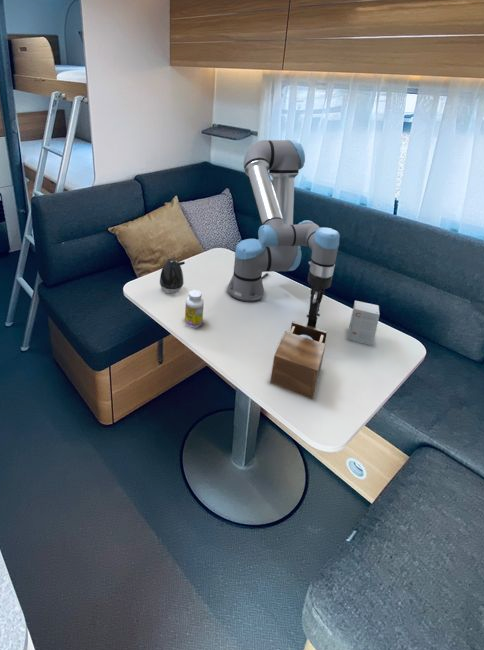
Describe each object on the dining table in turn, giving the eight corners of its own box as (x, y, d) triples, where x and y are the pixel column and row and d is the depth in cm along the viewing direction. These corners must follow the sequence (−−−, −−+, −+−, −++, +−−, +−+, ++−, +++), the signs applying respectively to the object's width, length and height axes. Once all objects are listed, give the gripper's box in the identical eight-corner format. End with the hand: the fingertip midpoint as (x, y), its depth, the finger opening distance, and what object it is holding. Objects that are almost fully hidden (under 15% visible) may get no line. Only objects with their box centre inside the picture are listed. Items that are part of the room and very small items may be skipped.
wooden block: (281, 357, 137) (285, 331, 134) (320, 370, 132) (325, 343, 128) (270, 383, 126) (274, 355, 122) (312, 399, 120) (317, 370, 117)
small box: (372, 335, 149) (379, 305, 145) (372, 346, 144) (380, 314, 139) (348, 329, 152) (354, 299, 148) (347, 339, 147) (354, 308, 142)
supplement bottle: (181, 320, 155) (182, 290, 151) (196, 315, 158) (198, 286, 154) (190, 330, 150) (192, 300, 145) (205, 325, 153) (207, 295, 148)
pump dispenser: (181, 298, 170) (182, 265, 164) (157, 295, 171) (157, 262, 166) (185, 285, 179) (186, 254, 174) (162, 282, 181) (163, 252, 175)
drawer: (291, 335, 147) (295, 314, 144) (325, 345, 142) (329, 324, 139) (280, 363, 133) (283, 341, 130) (316, 376, 128) (320, 353, 125)
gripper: (312, 263, 144) (303, 319, 152) (305, 278, 133) (295, 339, 141) (335, 268, 140) (324, 325, 148) (329, 285, 129) (318, 346, 138)
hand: (310, 332), depth 145 cm, fingers closed
